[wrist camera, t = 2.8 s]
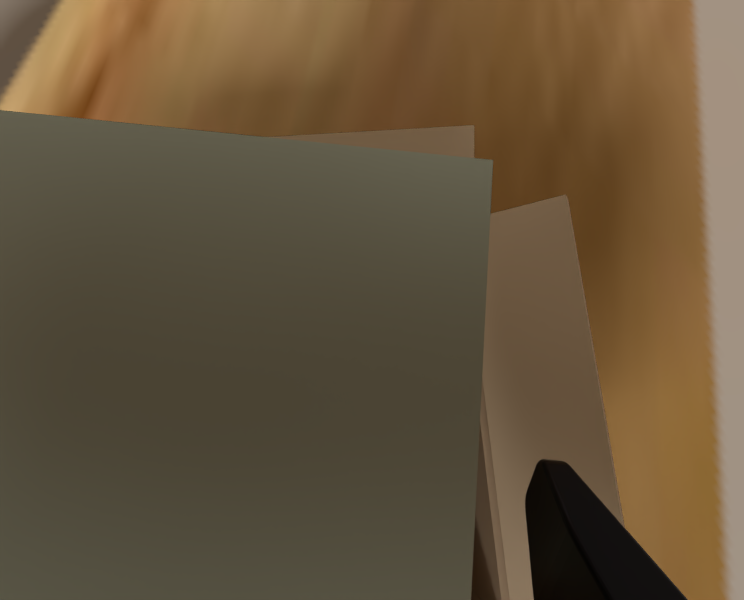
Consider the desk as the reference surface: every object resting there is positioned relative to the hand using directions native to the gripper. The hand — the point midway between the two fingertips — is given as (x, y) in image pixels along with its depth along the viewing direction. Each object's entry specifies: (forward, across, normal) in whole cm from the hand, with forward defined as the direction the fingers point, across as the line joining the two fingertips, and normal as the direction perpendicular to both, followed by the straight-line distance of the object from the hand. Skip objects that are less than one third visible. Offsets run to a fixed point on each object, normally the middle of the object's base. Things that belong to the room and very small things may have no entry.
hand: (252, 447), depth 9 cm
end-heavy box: (+6, 0, +6) cm, 8 cm away
